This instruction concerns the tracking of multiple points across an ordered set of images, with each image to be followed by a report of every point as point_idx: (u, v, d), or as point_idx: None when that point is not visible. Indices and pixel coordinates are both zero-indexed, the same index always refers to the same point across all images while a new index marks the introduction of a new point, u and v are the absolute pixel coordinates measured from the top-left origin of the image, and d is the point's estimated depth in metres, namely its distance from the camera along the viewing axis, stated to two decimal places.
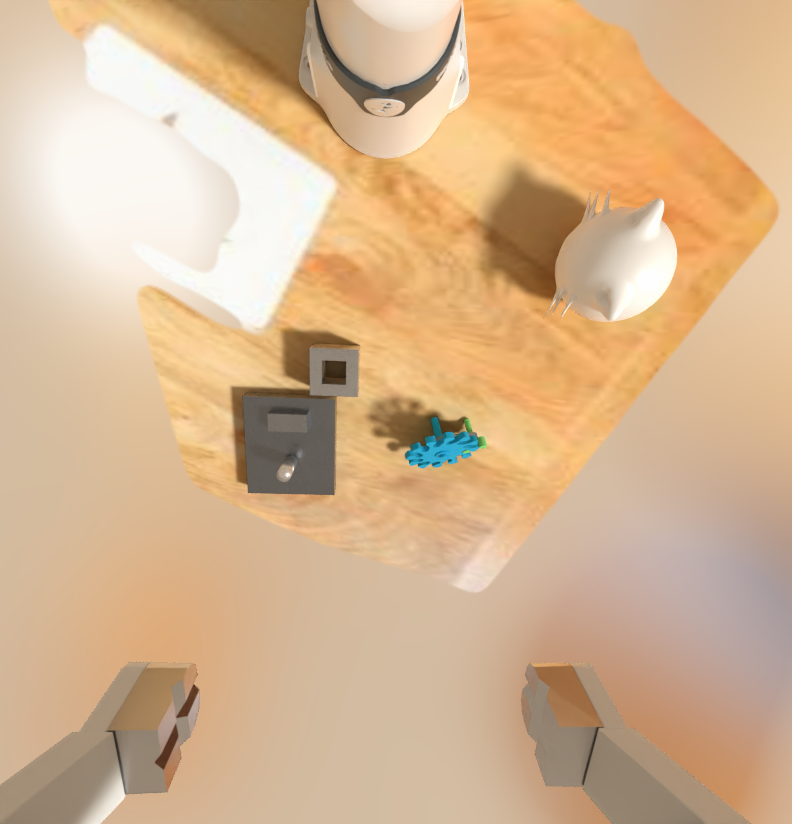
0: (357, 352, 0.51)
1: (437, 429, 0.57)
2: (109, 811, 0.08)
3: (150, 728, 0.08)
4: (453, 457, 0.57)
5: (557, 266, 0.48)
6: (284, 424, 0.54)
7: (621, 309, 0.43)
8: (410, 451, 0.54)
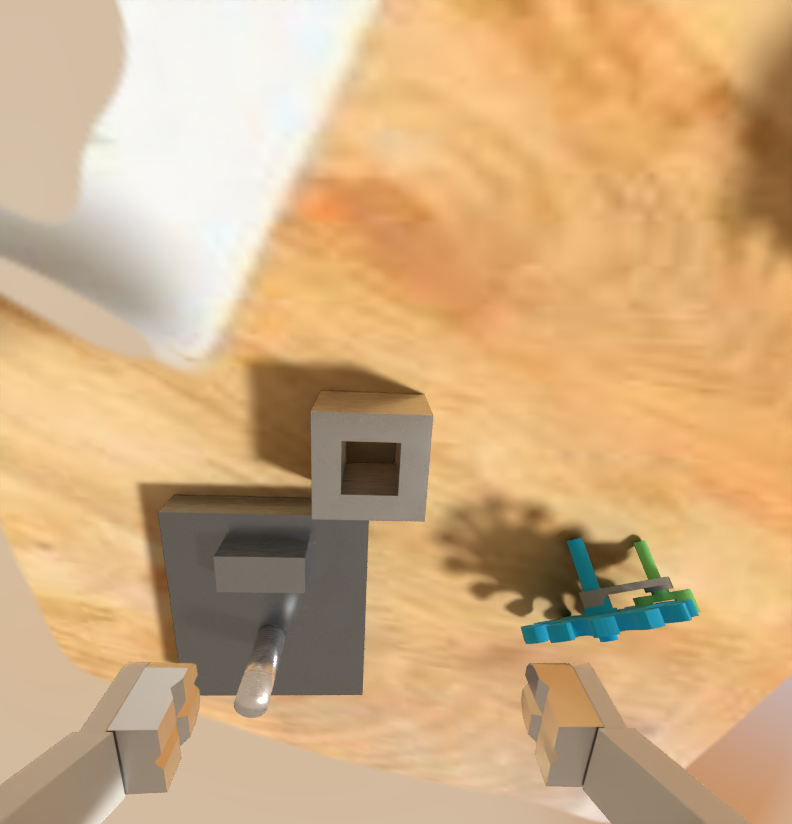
0: (429, 422, 0.21)
1: (587, 569, 0.26)
2: (109, 811, 0.08)
3: (150, 728, 0.08)
4: None
5: None
6: (253, 578, 0.23)
7: None
8: (538, 629, 0.24)
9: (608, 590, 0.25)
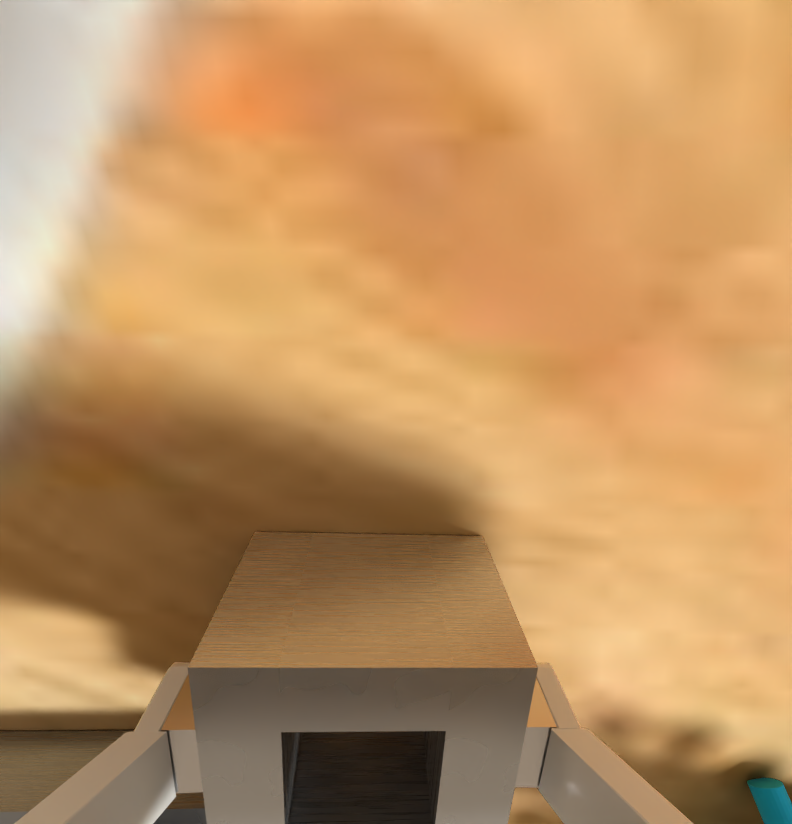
0: (526, 682, 0.07)
1: None
2: (161, 810, 0.08)
3: None
4: None
5: None
6: None
7: None
8: None
9: None
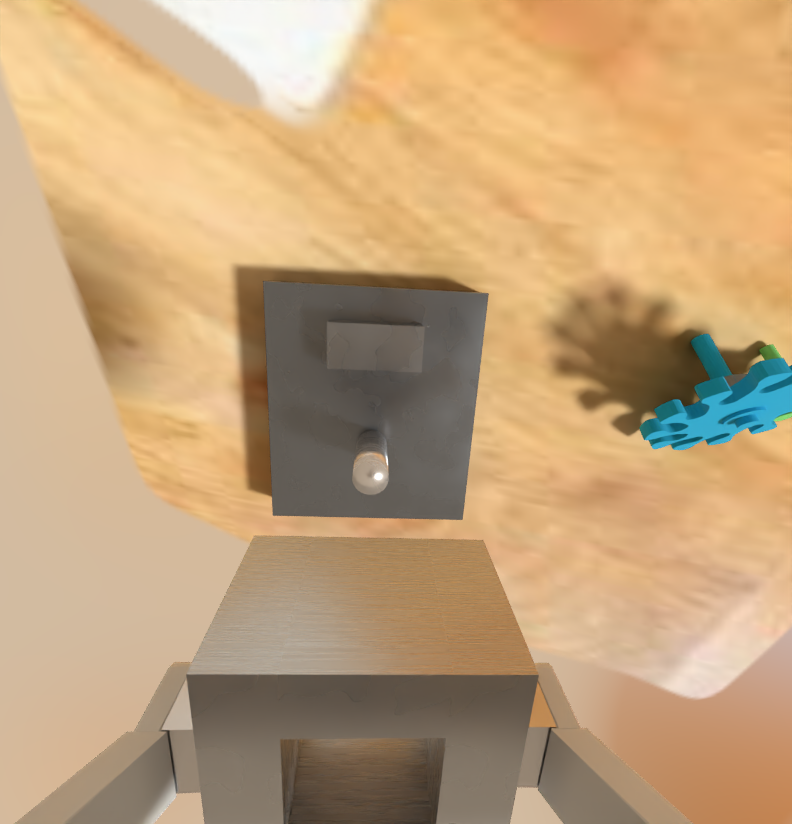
0: (527, 689, 0.07)
1: (720, 360, 0.24)
2: (162, 810, 0.08)
3: None
4: (741, 428, 0.25)
5: None
6: (368, 351, 0.22)
7: None
8: (678, 402, 0.22)
9: None
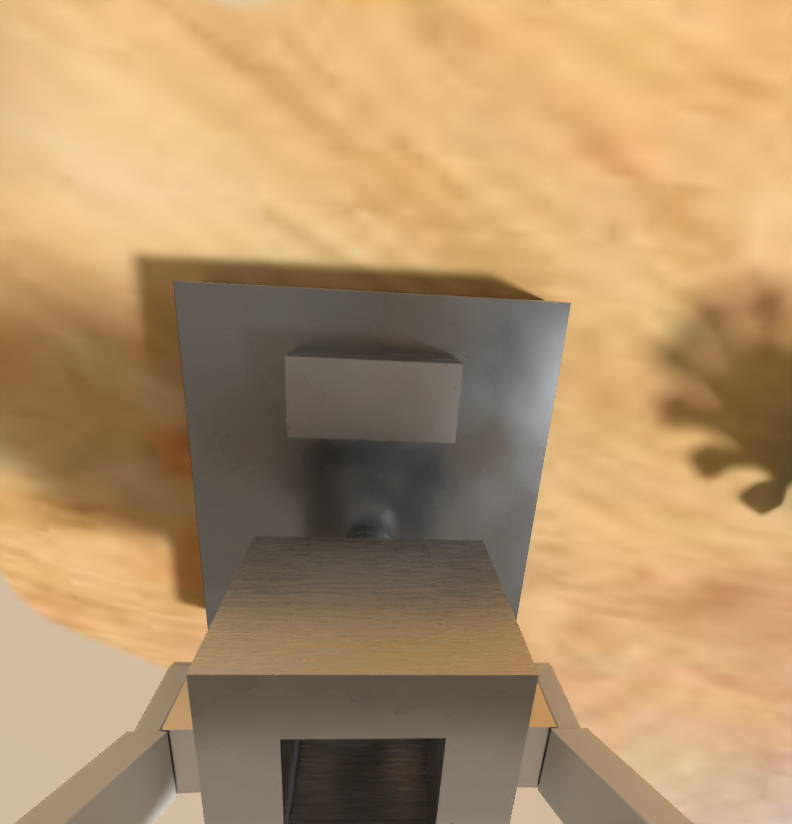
0: (527, 690, 0.07)
1: None
2: (162, 810, 0.08)
3: None
4: None
5: None
6: (360, 407, 0.12)
7: None
8: None
9: None
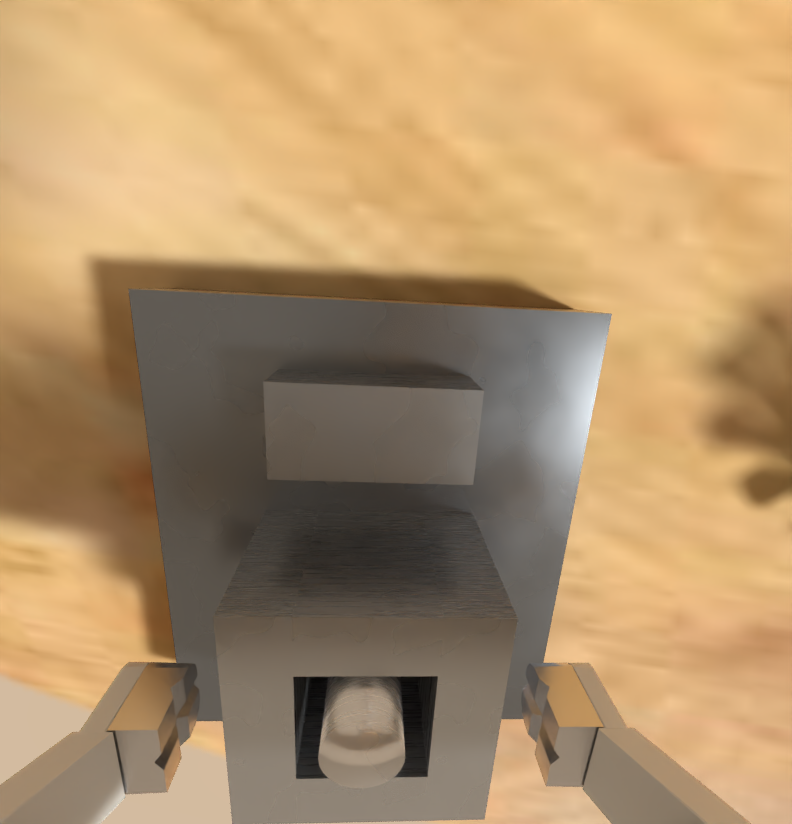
0: (508, 632, 0.08)
1: None
2: (109, 811, 0.08)
3: (150, 728, 0.08)
4: None
5: None
6: (357, 443, 0.10)
7: None
8: None
9: None
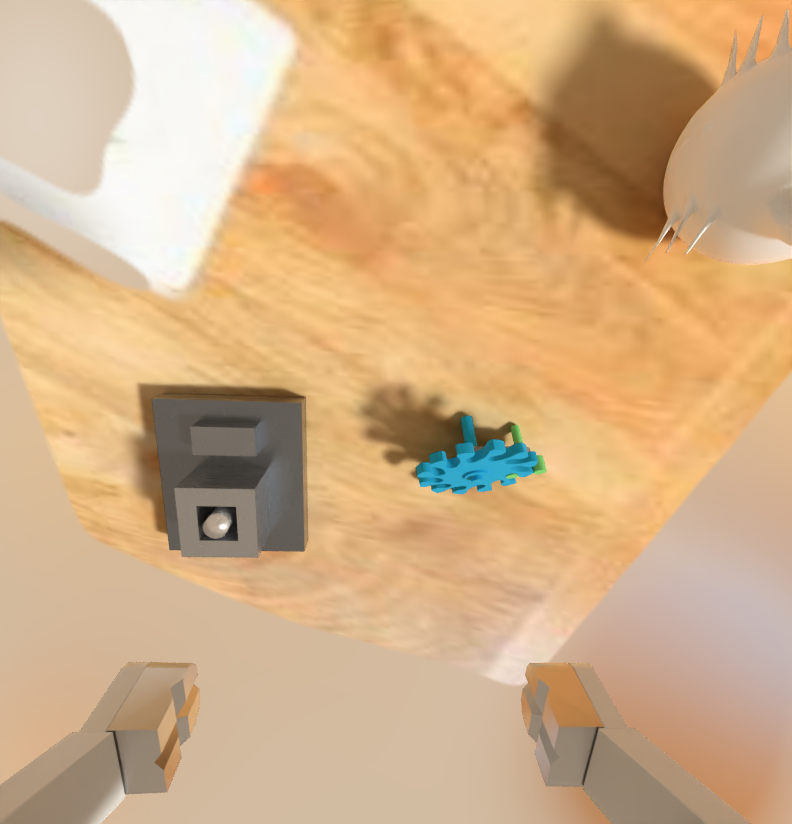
0: (252, 493, 0.32)
1: (470, 435, 0.36)
2: (109, 811, 0.08)
3: (150, 728, 0.08)
4: (488, 482, 0.36)
5: (676, 167, 0.28)
6: (218, 443, 0.33)
7: None
8: (426, 464, 0.33)
9: (482, 448, 0.35)
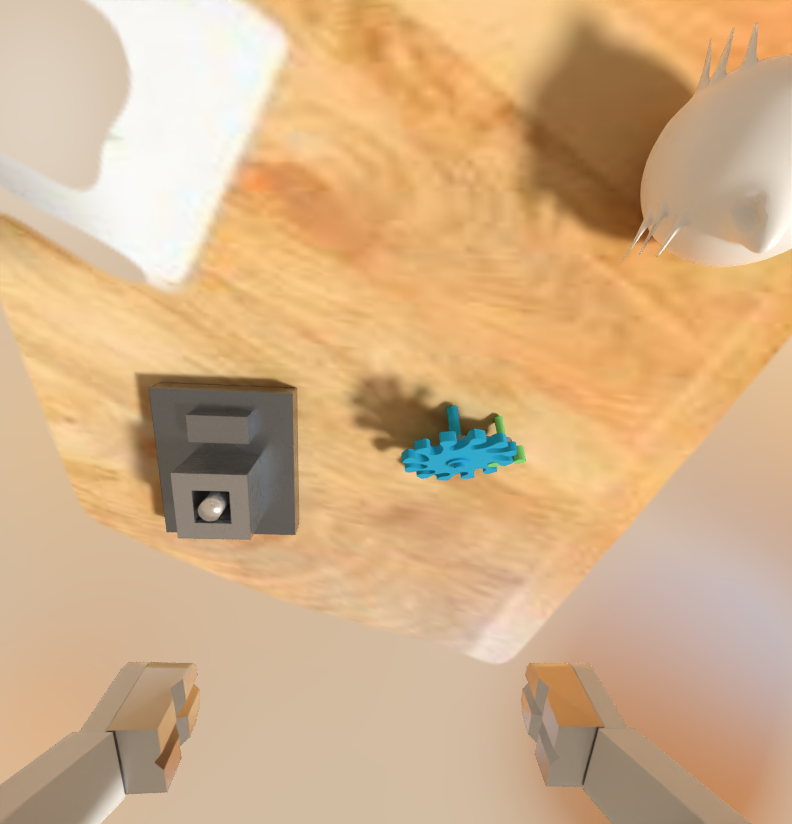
0: (245, 479, 0.34)
1: (455, 424, 0.37)
2: (109, 811, 0.08)
3: (150, 728, 0.08)
4: (471, 469, 0.38)
5: (651, 172, 0.29)
6: (213, 431, 0.35)
7: (784, 230, 0.24)
8: (411, 450, 0.35)
9: None
